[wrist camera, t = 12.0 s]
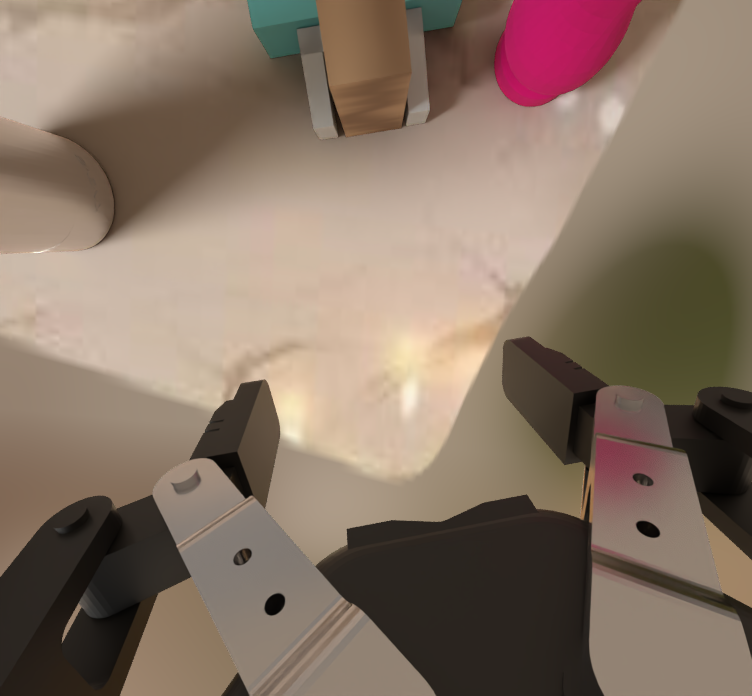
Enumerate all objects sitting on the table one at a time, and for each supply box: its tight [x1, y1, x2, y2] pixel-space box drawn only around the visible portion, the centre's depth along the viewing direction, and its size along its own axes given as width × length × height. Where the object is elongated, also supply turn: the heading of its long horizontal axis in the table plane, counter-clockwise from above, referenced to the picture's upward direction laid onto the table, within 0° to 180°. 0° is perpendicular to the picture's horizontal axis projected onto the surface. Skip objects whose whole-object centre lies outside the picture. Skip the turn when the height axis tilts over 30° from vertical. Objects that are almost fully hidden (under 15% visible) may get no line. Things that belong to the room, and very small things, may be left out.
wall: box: [247, 0, 462, 58], centre depth 25 cm, size 14×2×4 cm, turn 98°
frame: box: [297, 7, 430, 140], centre depth 26 cm, size 8×6×3 cm
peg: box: [316, 0, 412, 137], centre depth 23 cm, size 4×4×10 cm
